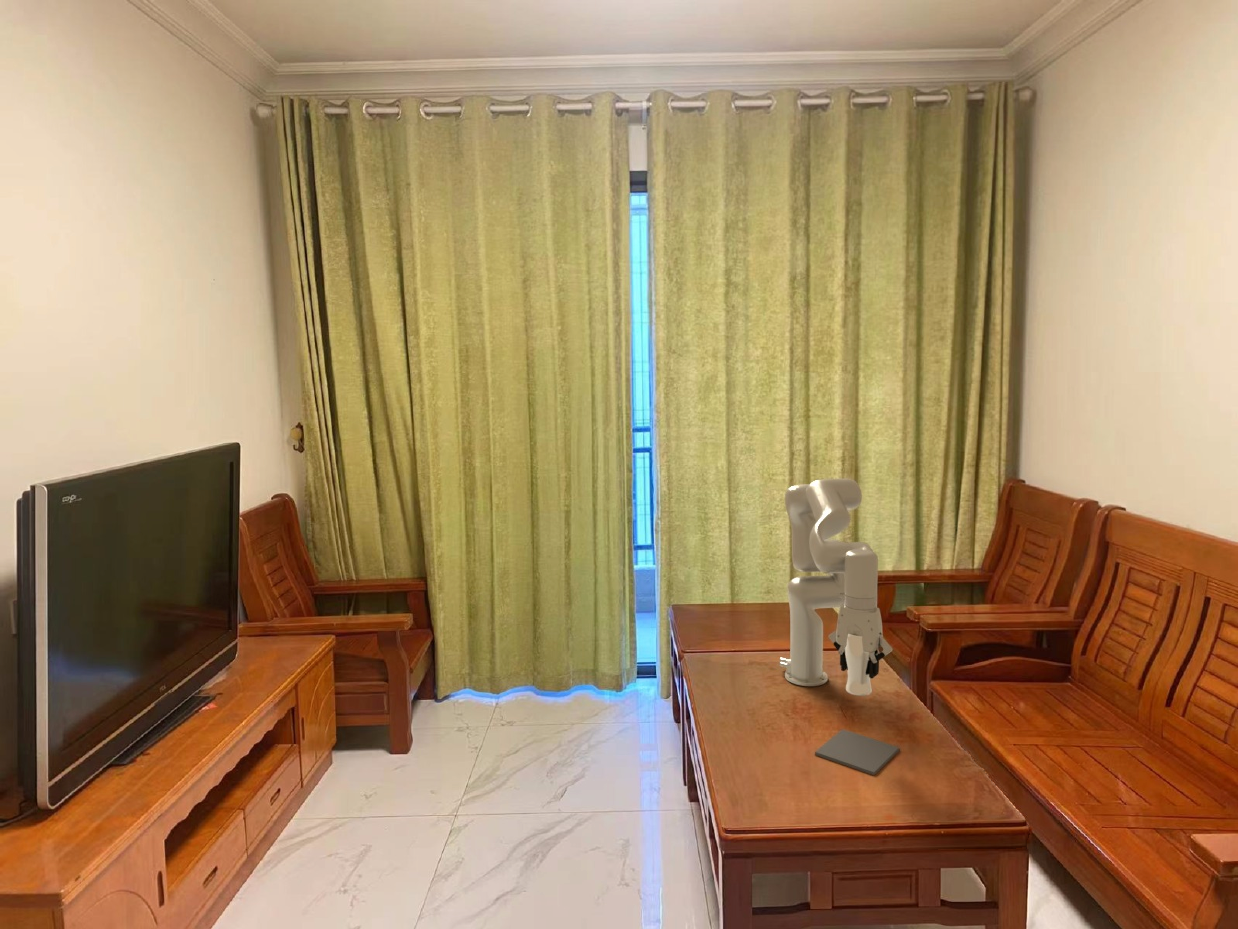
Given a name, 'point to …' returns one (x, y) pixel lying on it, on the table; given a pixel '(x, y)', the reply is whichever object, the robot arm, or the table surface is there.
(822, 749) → the charcoal mat
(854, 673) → the beer glass
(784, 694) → the table surface
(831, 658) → the table surface
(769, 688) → the table surface
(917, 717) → the table surface
